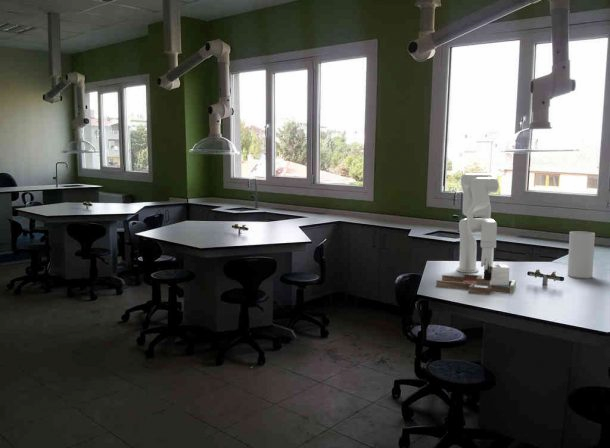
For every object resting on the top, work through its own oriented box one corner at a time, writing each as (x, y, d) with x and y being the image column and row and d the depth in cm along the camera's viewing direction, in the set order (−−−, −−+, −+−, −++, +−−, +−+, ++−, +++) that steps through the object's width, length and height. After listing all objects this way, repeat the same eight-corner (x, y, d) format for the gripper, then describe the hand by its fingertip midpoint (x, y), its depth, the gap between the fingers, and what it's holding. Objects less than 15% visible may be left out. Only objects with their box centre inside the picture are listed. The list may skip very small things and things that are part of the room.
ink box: (509, 290, 264) (510, 264, 263) (491, 289, 266) (492, 263, 265) (506, 286, 273) (507, 261, 271) (489, 286, 274) (490, 260, 273)
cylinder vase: (591, 275, 300) (593, 231, 298) (593, 279, 289) (595, 234, 286) (567, 273, 306) (569, 230, 303) (567, 277, 294) (570, 233, 292)
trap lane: (445, 277, 295) (445, 270, 295) (516, 284, 279) (517, 276, 279) (433, 289, 268) (433, 281, 267) (511, 297, 251) (512, 288, 251)
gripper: (482, 242, 277) (481, 276, 279) (478, 246, 263) (477, 281, 265) (497, 243, 273) (496, 277, 275) (494, 246, 260) (493, 283, 262)
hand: (487, 279), depth 270 cm, fingers closed
